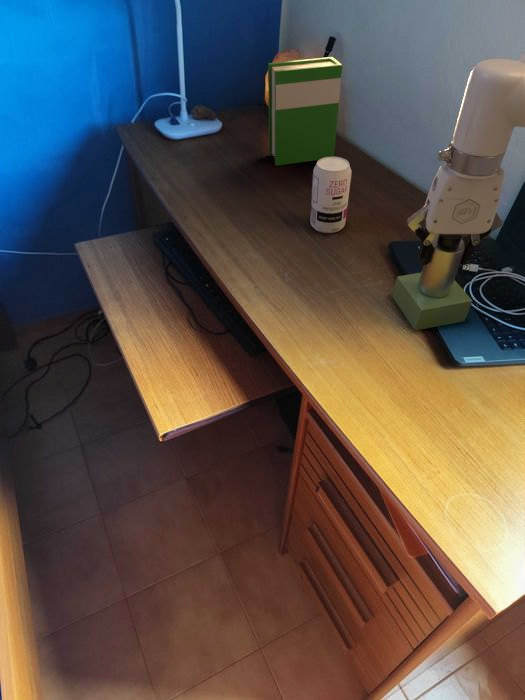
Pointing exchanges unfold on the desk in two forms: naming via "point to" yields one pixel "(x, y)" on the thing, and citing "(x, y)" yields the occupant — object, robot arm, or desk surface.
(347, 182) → the supplement can
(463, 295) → the block
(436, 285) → the flask
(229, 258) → the desk surface
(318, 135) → the hardback book
